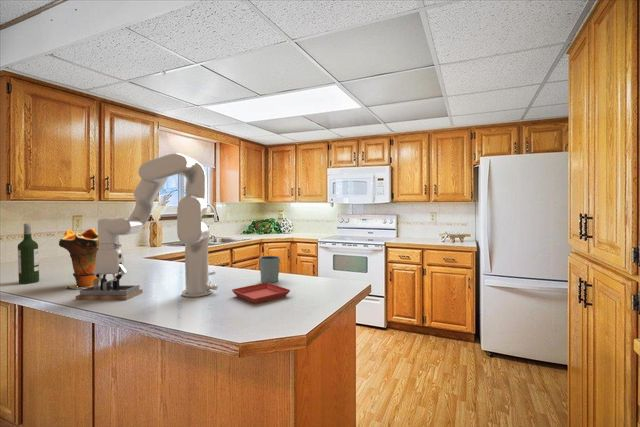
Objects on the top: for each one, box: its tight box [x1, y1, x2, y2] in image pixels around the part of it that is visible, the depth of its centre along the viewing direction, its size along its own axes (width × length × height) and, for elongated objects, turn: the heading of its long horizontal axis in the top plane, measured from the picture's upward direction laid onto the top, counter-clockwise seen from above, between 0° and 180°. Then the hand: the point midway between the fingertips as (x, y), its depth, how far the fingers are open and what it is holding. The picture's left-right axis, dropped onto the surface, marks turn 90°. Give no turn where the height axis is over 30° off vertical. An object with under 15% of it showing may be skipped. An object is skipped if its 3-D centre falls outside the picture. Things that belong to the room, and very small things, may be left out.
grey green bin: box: [259, 255, 281, 284], centre depth 168 cm, size 10×10×12 cm
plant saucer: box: [231, 282, 291, 305], centre depth 140 cm, size 18×18×3 cm
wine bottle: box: [17, 222, 40, 285], centre depth 170 cm, size 8×8×30 cm
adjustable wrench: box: [209, 270, 217, 276], centre depth 178 cm, size 25×6×2 cm, turn 166°
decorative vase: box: [58, 227, 98, 290], centre depth 163 cm, size 21×23×28 cm
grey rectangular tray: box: [79, 278, 140, 296], centre depth 143 cm, size 20×9×5 cm, turn 87°
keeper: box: [75, 278, 144, 301], centre depth 143 cm, size 22×11×8 cm, turn 87°
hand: (110, 288), depth 143 cm, fingers open, 4 cm apart
